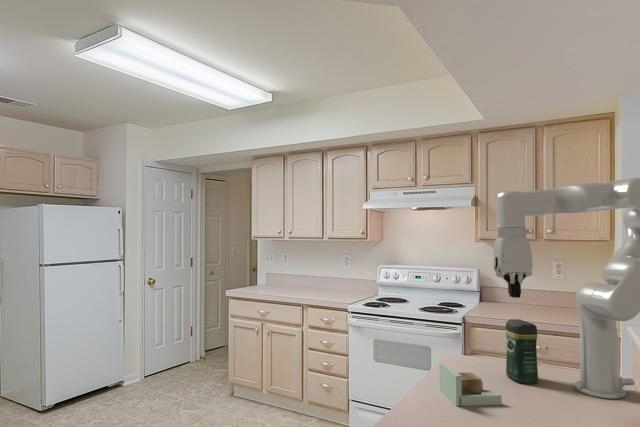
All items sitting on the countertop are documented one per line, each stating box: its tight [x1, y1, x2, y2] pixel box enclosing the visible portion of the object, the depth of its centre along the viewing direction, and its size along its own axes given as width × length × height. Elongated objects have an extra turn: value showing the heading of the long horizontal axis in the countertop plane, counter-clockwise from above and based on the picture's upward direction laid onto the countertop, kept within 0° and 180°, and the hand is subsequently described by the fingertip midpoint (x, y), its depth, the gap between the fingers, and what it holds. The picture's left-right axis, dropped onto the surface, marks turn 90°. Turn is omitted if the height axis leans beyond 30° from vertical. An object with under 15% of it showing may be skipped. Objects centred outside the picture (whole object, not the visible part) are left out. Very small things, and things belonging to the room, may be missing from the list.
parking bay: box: [439, 362, 503, 407], centre depth 125 cm, size 13×12×8 cm
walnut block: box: [457, 371, 483, 395], centre depth 125 cm, size 6×6×6 cm
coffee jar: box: [505, 318, 539, 385], centre depth 141 cm, size 10×8×19 cm
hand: (514, 296), depth 129 cm, fingers closed
